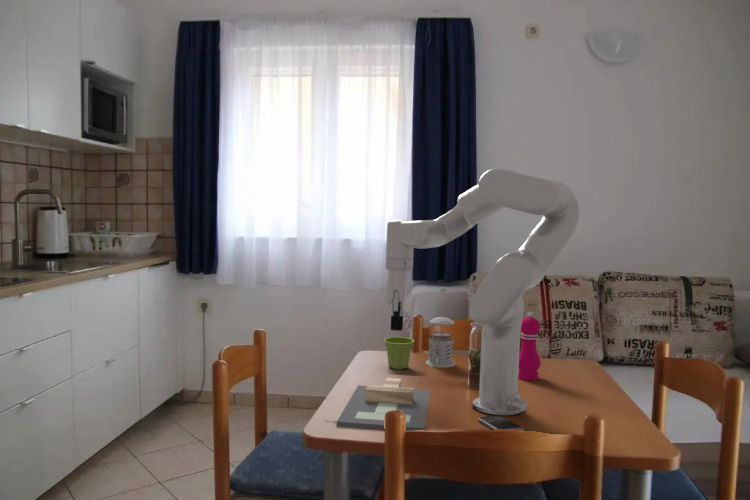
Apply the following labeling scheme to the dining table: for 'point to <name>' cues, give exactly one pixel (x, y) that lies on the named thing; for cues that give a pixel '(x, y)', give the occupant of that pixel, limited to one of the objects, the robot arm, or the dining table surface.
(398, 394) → the t block
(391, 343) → the plant pot
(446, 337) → the french press
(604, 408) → the dining table surface
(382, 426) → the mat
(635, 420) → the dining table surface
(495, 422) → the cell phone
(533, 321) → the pepper mill
